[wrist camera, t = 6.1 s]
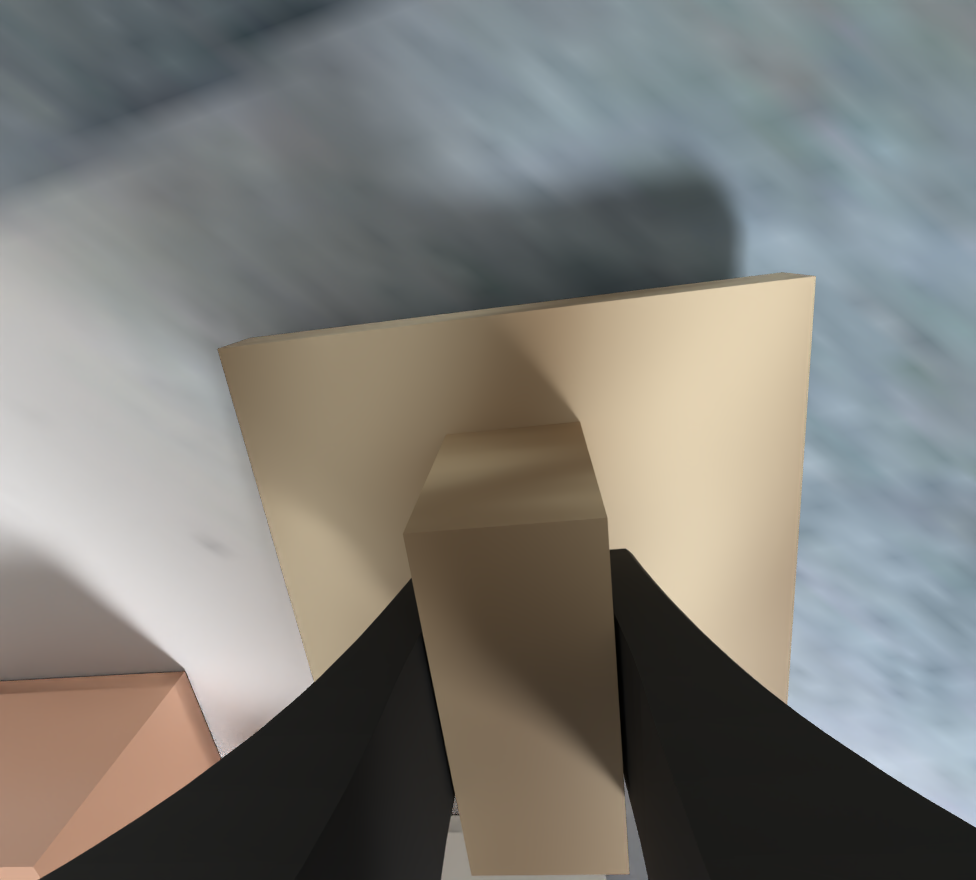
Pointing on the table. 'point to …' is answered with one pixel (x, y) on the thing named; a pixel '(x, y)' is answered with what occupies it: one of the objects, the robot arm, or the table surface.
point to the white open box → (459, 876)
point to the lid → (539, 518)
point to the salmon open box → (90, 761)
